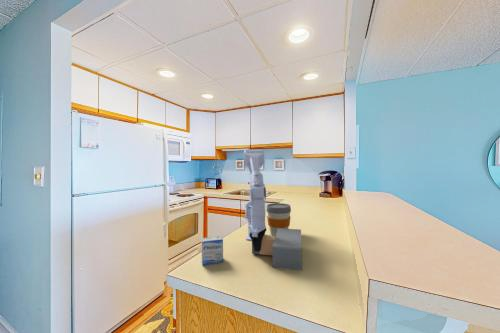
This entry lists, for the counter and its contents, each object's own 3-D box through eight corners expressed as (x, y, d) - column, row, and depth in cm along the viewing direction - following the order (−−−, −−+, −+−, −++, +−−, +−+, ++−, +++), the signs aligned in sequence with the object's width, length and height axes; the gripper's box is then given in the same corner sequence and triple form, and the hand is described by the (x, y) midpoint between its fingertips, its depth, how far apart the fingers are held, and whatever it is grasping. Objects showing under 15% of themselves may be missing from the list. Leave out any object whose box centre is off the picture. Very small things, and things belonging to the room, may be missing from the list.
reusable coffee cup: (290, 230, 110) (289, 203, 110) (292, 239, 97) (292, 208, 97) (267, 230, 111) (266, 203, 111) (266, 238, 99) (266, 208, 99)
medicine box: (202, 265, 73) (201, 241, 73) (201, 260, 78) (201, 237, 77) (223, 262, 75) (223, 239, 75) (222, 257, 80) (221, 235, 80)
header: (278, 245, 90) (278, 228, 90) (301, 246, 88) (300, 229, 88) (272, 267, 71) (272, 245, 71) (301, 270, 69) (301, 248, 69)
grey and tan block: (254, 249, 85) (253, 235, 85) (287, 252, 82) (287, 237, 82) (252, 253, 81) (251, 238, 81) (287, 256, 78) (287, 241, 78)
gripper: (252, 210, 90) (252, 241, 90) (244, 219, 76) (244, 255, 76) (268, 211, 89) (268, 242, 89) (262, 220, 74) (262, 257, 75)
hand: (258, 248), depth 82 cm, fingers closed on grey and tan block, 4 cm apart
